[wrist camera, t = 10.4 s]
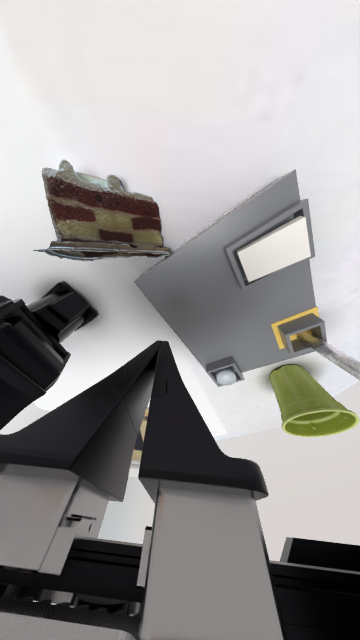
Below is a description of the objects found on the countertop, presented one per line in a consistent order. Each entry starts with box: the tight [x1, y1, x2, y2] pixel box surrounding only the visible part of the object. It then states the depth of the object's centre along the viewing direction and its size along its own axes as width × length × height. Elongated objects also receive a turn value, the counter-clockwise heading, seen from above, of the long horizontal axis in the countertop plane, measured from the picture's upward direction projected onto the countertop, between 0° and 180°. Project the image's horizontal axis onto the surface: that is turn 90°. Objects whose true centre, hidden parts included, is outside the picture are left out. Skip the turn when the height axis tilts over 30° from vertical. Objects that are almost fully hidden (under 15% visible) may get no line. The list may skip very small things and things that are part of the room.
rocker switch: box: [236, 216, 311, 282], centre depth 13 cm, size 5×3×1 cm, turn 122°
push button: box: [216, 367, 236, 385], centre depth 23 cm, size 3×3×1 cm
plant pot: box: [270, 365, 359, 437], centre depth 24 cm, size 9×9×9 cm
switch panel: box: [134, 169, 327, 387], centre depth 19 cm, size 17×22×4 cm
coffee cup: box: [128, 408, 149, 478], centre depth 37 cm, size 9×9×12 cm
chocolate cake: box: [33, 160, 172, 261], centre depth 15 cm, size 10×7×12 cm
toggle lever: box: [296, 331, 360, 380], centre depth 14 cm, size 3×3×11 cm
